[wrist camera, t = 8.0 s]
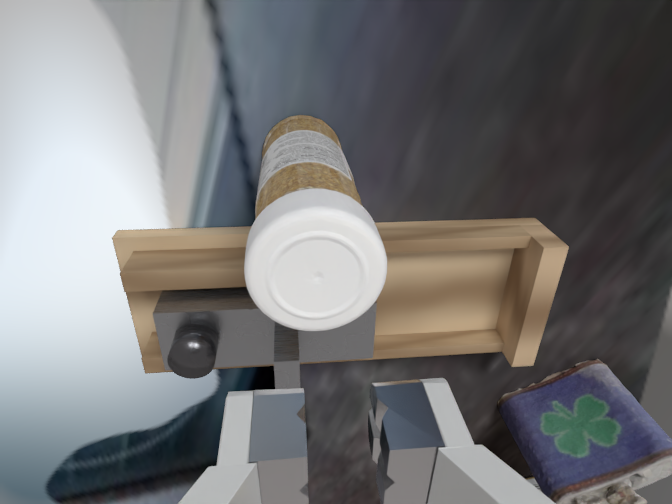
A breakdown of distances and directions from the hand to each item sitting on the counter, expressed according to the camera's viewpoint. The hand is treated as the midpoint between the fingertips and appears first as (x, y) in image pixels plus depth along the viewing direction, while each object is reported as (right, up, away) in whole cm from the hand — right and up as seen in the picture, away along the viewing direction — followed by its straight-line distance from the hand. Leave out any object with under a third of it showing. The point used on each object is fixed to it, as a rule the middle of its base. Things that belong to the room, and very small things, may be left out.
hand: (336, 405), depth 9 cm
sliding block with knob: (-4, 0, +19) cm, 20 cm away
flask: (+18, -8, +28) cm, 34 cm away
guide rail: (0, +1, +21) cm, 21 cm away
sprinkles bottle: (-2, +9, +16) cm, 19 cm away
